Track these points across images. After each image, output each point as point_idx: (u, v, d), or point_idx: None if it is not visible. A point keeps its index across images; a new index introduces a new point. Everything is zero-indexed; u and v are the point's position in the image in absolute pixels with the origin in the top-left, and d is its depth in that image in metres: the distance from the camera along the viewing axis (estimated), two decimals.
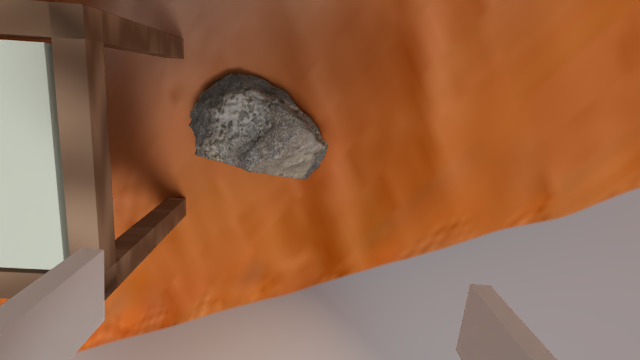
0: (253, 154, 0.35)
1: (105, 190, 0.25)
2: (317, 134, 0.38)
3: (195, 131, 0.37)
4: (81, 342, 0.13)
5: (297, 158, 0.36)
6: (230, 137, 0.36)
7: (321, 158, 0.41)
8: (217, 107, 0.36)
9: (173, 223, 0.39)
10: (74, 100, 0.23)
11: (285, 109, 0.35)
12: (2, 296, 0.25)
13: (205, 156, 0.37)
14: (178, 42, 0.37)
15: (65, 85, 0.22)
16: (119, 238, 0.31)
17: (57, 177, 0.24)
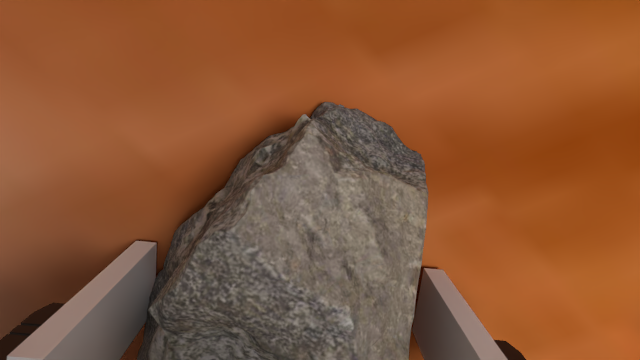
0: None
1: None
2: (274, 149, 0.11)
3: None
4: (138, 328, 0.14)
5: (355, 232, 0.10)
6: None
7: (362, 119, 0.13)
8: None
9: None
10: None
11: (171, 287, 0.09)
12: None
13: None
14: None
15: None
16: None
17: None
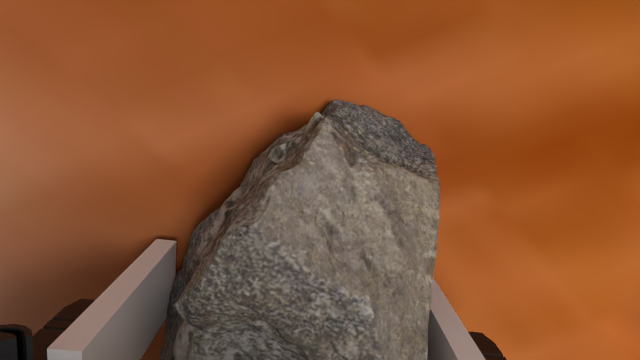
0: None
1: None
2: (289, 146, 0.11)
3: None
4: (159, 324, 0.15)
5: (372, 224, 0.10)
6: None
7: (371, 116, 0.14)
8: None
9: None
10: None
11: (196, 282, 0.10)
12: None
13: None
14: None
15: None
16: None
17: None
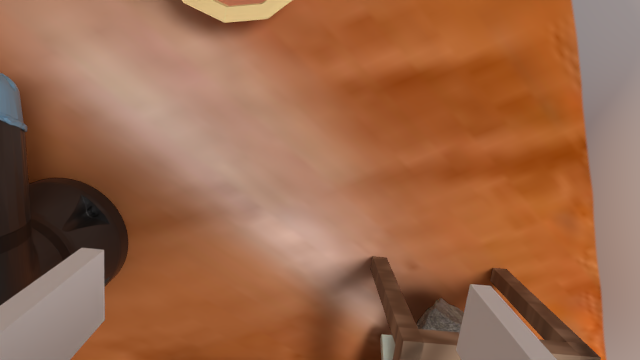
0: None
1: None
2: (432, 307, 0.50)
3: None
4: (81, 342, 0.13)
5: (456, 314, 0.48)
6: None
7: None
8: None
9: (518, 283, 0.49)
10: None
11: (423, 324, 0.46)
12: None
13: None
14: (378, 261, 0.50)
15: (449, 357, 0.35)
16: (537, 331, 0.42)
17: None
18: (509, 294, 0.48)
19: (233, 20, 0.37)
